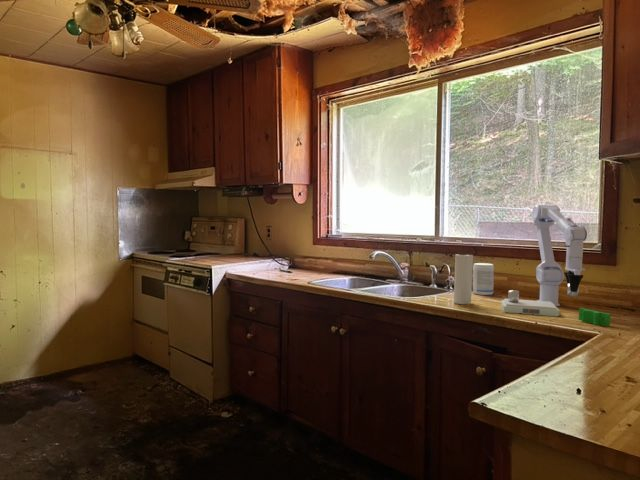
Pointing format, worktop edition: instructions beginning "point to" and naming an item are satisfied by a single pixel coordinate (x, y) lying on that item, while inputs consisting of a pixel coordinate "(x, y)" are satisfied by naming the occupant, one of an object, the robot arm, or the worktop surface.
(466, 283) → the paper towel roll
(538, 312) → the scale
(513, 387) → the worktop surface
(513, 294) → the spacer
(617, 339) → the worktop surface
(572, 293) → the spacer
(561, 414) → the worktop surface
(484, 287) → the supplement tub
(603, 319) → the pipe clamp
